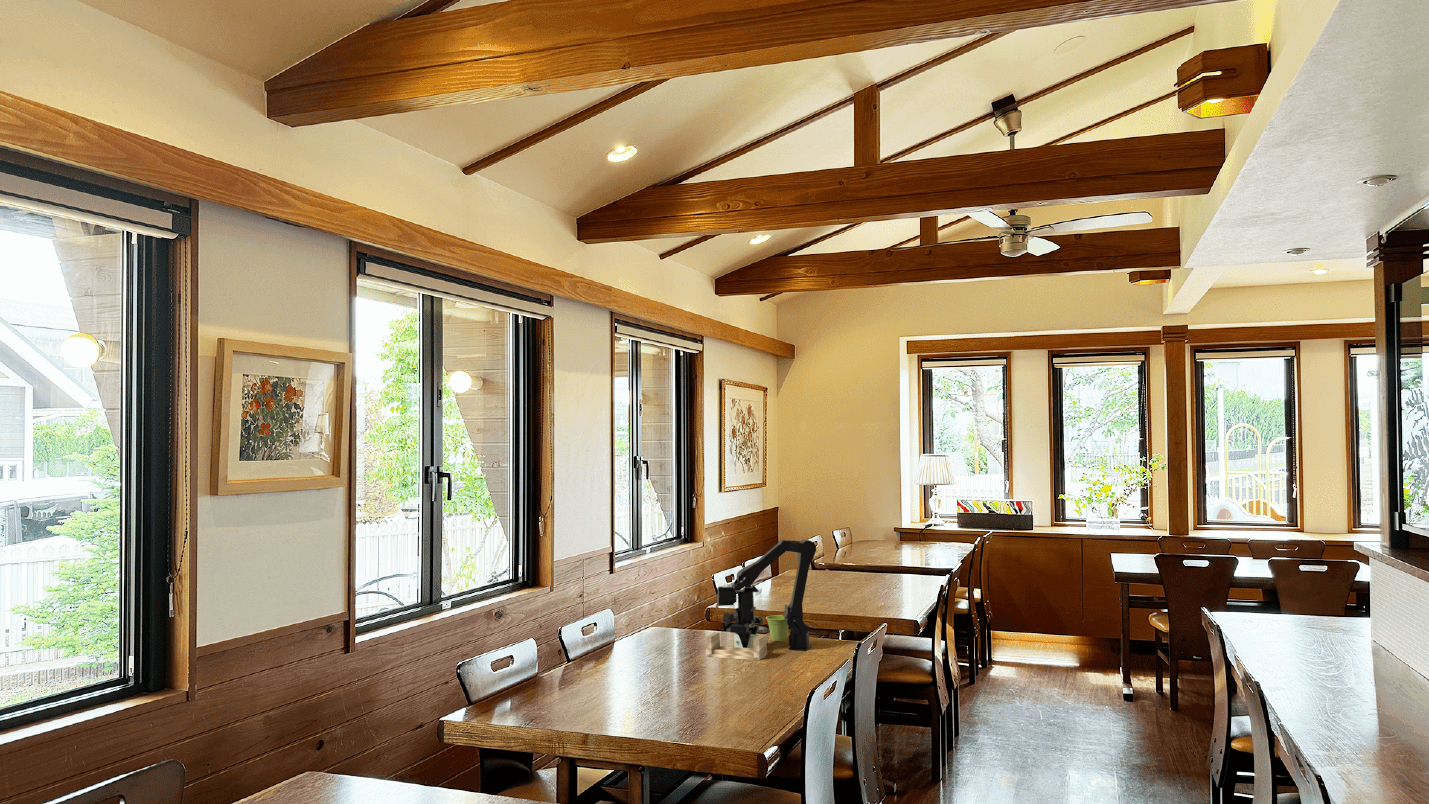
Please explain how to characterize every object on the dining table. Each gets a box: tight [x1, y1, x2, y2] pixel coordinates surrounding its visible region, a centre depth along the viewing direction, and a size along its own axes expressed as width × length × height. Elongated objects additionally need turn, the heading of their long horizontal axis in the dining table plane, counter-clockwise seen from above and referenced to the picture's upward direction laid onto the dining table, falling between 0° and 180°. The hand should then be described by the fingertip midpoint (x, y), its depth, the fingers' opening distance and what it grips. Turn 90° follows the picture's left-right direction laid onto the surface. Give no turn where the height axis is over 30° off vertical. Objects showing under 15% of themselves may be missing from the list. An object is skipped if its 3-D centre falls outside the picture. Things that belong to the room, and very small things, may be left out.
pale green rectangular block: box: [733, 633, 761, 648], centre depth 325 cm, size 9×3×6 cm, turn 67°
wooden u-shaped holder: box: [705, 631, 768, 661], centre depth 319 cm, size 20×8×7 cm, turn 67°
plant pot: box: [765, 614, 789, 642], centre depth 343 cm, size 9×9×9 cm
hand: (747, 648), depth 326 cm, fingers open, 4 cm apart
